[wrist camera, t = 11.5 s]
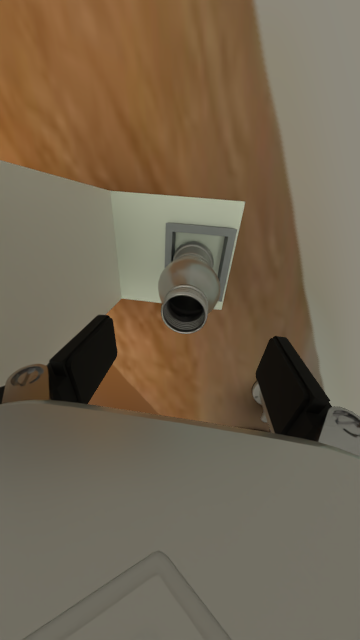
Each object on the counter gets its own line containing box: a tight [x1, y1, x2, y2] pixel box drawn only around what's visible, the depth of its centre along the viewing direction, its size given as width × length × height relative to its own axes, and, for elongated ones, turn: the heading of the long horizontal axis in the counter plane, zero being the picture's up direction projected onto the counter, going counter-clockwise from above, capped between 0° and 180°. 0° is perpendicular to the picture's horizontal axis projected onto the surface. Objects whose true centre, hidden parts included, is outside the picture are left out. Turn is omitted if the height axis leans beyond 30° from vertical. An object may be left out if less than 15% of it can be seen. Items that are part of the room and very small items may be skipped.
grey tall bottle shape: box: [158, 241, 221, 334], centre depth 22 cm, size 6×7×20 cm
